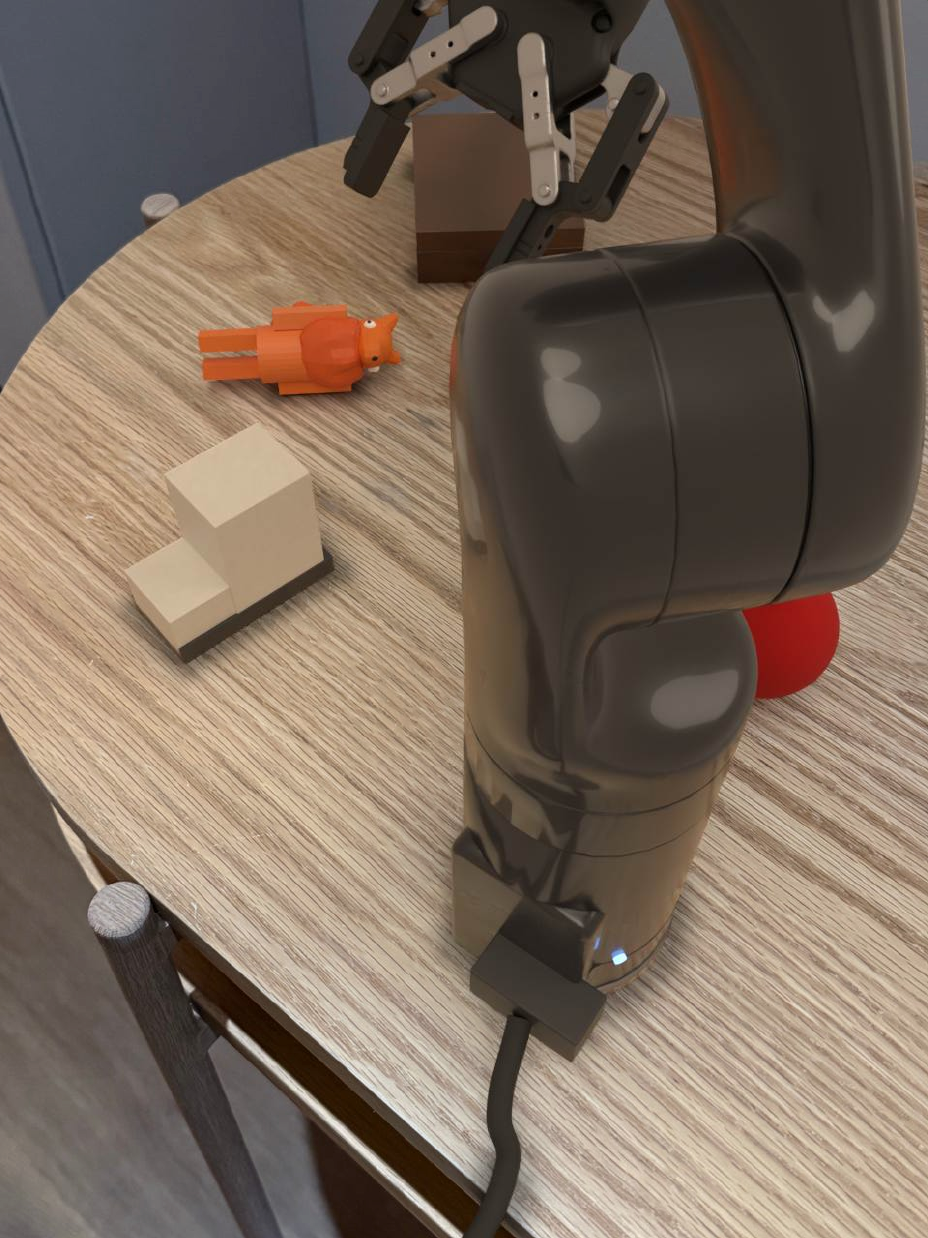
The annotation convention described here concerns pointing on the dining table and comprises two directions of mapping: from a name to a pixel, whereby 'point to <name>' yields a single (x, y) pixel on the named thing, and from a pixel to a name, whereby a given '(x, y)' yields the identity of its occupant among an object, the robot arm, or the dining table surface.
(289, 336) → the orange toy figure
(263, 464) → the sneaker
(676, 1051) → the dining table surface
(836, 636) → the christmas ornament
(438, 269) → the brown lidded case
